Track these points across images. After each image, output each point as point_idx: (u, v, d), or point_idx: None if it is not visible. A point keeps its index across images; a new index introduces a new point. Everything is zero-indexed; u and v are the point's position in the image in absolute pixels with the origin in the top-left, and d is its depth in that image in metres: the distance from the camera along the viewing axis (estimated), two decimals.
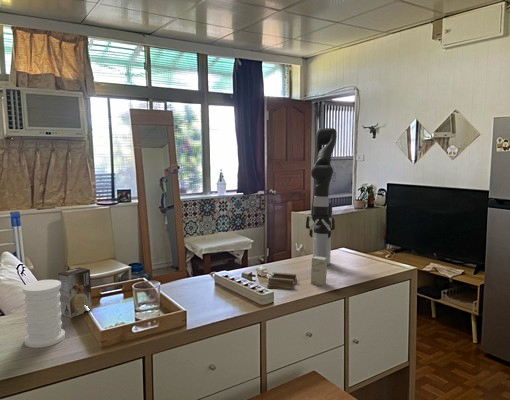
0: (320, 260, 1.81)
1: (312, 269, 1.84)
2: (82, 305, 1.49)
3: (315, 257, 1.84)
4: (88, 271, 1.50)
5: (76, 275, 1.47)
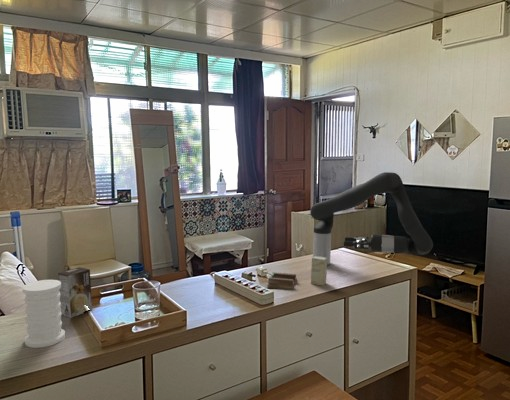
0: (320, 260, 1.81)
1: (312, 269, 1.84)
2: (82, 305, 1.49)
3: (315, 257, 1.84)
4: (88, 271, 1.50)
5: (76, 275, 1.47)
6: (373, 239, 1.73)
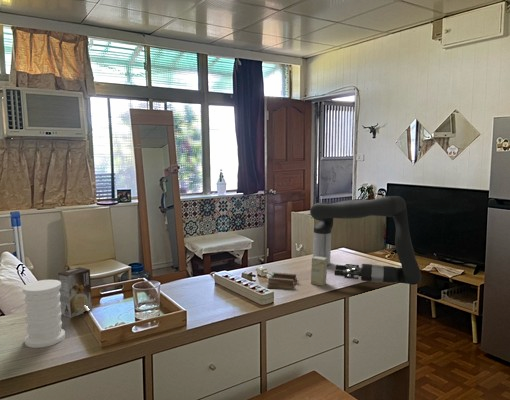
0: (320, 260, 1.81)
1: (312, 269, 1.84)
2: (82, 305, 1.49)
3: (315, 257, 1.84)
4: (88, 271, 1.50)
5: (76, 275, 1.47)
6: (363, 269, 1.76)
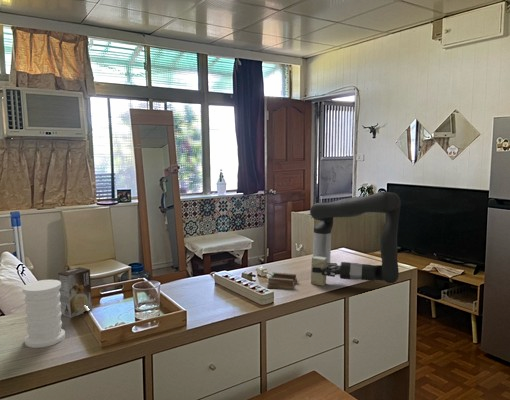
0: (320, 260, 1.81)
1: None
2: (82, 305, 1.49)
3: (315, 257, 1.84)
4: (88, 271, 1.50)
5: (76, 275, 1.47)
6: (342, 267, 1.79)
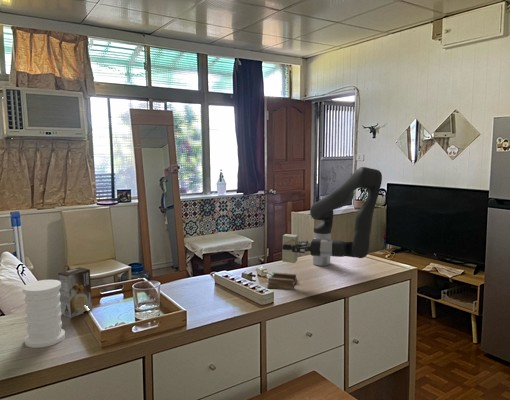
0: (291, 237, 1.79)
1: None
2: (82, 305, 1.49)
3: (286, 235, 1.82)
4: (88, 271, 1.50)
5: (76, 275, 1.47)
6: (312, 243, 1.76)
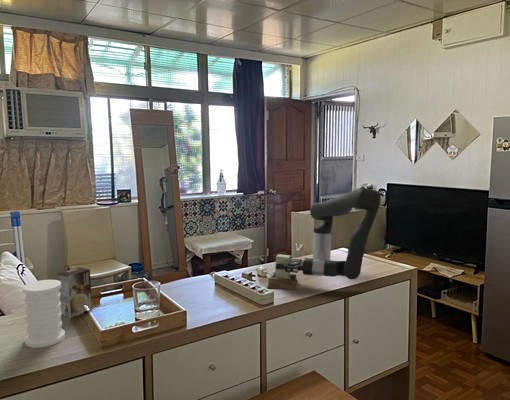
0: (284, 258, 1.81)
1: None
2: (82, 305, 1.49)
3: (279, 255, 1.83)
4: (88, 271, 1.50)
5: (76, 275, 1.47)
6: (304, 263, 1.78)
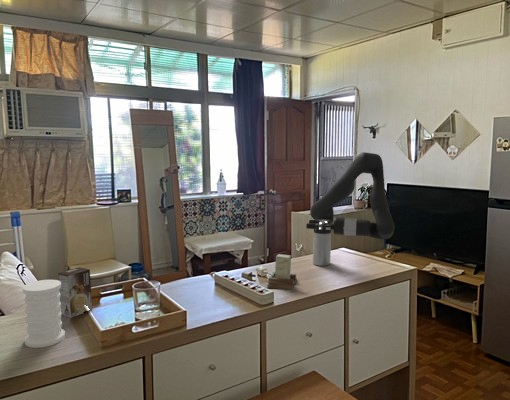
0: (284, 258, 1.81)
1: (276, 267, 1.83)
2: (82, 305, 1.49)
3: (279, 255, 1.83)
4: (88, 271, 1.50)
5: (76, 275, 1.47)
6: (336, 222, 1.72)
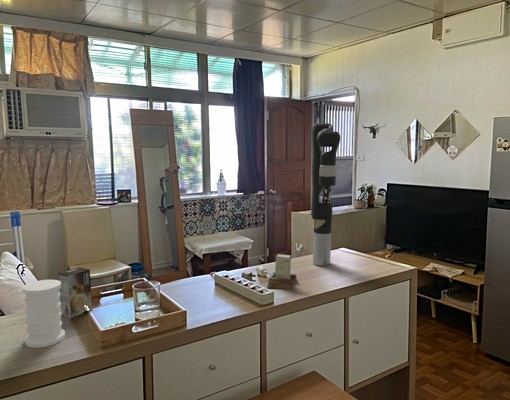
0: (284, 258, 1.81)
1: (276, 267, 1.83)
2: (82, 305, 1.49)
3: (279, 255, 1.83)
4: (88, 271, 1.50)
5: (76, 275, 1.47)
6: (321, 183, 1.85)
